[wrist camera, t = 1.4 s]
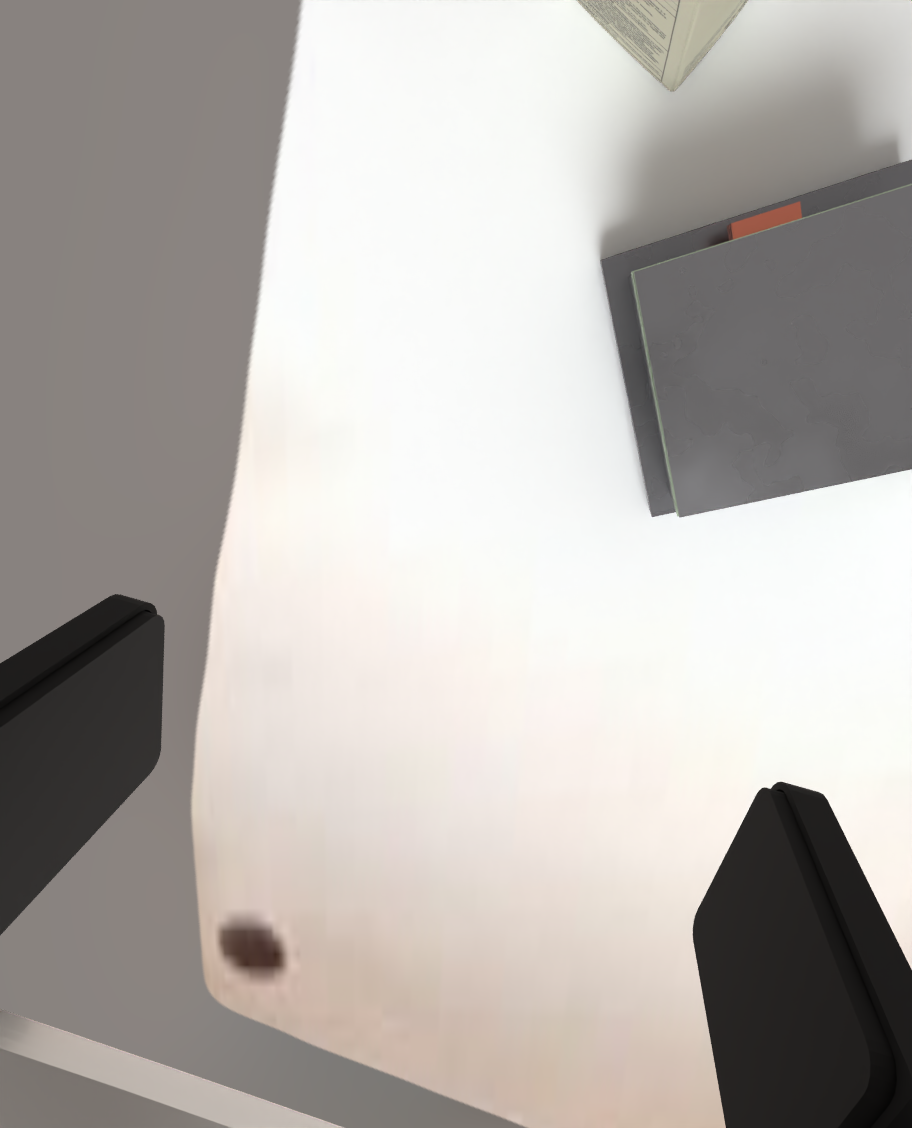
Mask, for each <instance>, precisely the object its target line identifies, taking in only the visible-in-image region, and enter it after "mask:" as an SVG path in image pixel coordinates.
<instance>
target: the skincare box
mask: <svg viewBox="0 0 912 1128" xmlns="http://www.w3.org/2000/svg"><path fill="white" fill-rule="evenodd" d="M577 1H578V2H579V3H580V5H581V6H582V7H583V8H584V9H585V10H586V11H587V12H588V13H589V14H590V15H591V16H592V17H593V18H594V19H595V20H596V21H597V22H598V23H599V24H600V25H601V26H602V27H603V28H604V29H605V30H606V31H607V32H608V33H609V34H610V35H611V36H612V37H613V38H614V39H615V40H616V41H617V42H618V43H619V44H620V45H621V46H622V47H623V48H624V49H625V50H626V51H627V52H628V53H629V54H630V55H631V56H632V57H633V58H634V59H635V60H636V61H637V62H639V63H640V64H641V65H642V66H643V67H644V68H645V69H646V70H647V71H648V72H649V73H650V74H651V75H653V76H654V77H655V78H656V79H657V80H658V81H659V82H660V83H662V84H663V85H664V86H665V87H666V88H667V89H668V90H669V91H671V92H674V91H675V90H676V89H677V88H678V87H679V86H680V85H681V83H682V82H683V81H684V80H685V79H686V77H687V76H688V75H689V74H690V73H691V72H692V70H693V69H694V68H695V67H696V66H697V64H698V63H699V62H700V61H701V60H702V58H703V57H704V56H705V55H706V54H707V52H708V51H709V50H710V49H711V48H712V46H713V45H714V44H715V43H716V41H717V40H718V39H719V38H720V37H721V35H722V34H723V33H724V31H725V30H726V29H727V28H728V26H729V25H730V24H731V22H732V21H733V20H734V19H735V17H736V16H737V15H738V13H739V12H740V11H741V9H742V8H743V7H744V5H745V4H746V3H747V1H748V0H577Z"/></svg>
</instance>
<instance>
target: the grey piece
mask: <svg viewBox="0 0 912 1128" xmlns="http://www.w3.org/2000/svg"><path fill="white" fill-rule="evenodd" d="M600 262H601V267H602V272H603V277H604V282H605V287H606V292H607V297H608V302H609V307H610V312H611V317H612V322H613V327H614V333H615V338H616V343H617V348H618V353H619V358H620V363H621V368H622V373H623V378H624V383H625V388H626V393H627V398H628V403H629V408H630V413H631V418H632V423H633V428H634V433H635V438H636V443H637V448H638V453H639V458H640V463H641V468H642V473H643V478H644V483H645V488H646V493H647V498H648V503H649V508H650V512H651V516H652V517H655V516H659V515H664V514H669V513H674V512H676V514H677V516H679V517H684V516H689V515H694V514H699V513H704V512H708V511H713V510H718V509H723V508H728V507H732V506H737V505H742V504H747V503H752V502H756V501H761V500H766V499H771V498H776V497H780V496H785V495H790V494H795V493H800V492H804V491H809V490H814V489H819V488H824V487H828V486H833V485H838V484H843V483H848V482H852V481H857V480H862V479H867V478H872V477H876V476H881V475H886V474H891V473H896V472H900V471H905V470H910V469H912V160H909V161H906V162H903V163H900V164H897V165H894V166H891V167H887V168H884V169H881V170H878V171H875V172H872V173H869V174H866V175H863V176H860V177H856V178H853V179H850V180H847V181H844V182H841V183H838V184H835V185H832V186H829V187H826V188H822V189H819V190H816V191H813V192H810V193H807V194H804V195H801V196H798V197H795V198H791V199H788V200H785V201H782V202H779V203H776V204H773V205H770V206H767V207H764V208H760V209H757V210H754V211H751V212H748V213H745V214H742V215H739V216H736V217H733V218H729V219H726V220H723V221H720V222H717V223H714V224H711V225H708V226H705V227H702V228H699V229H695V230H692V231H689V232H686V233H683V234H680V235H677V236H674V237H671V238H668V239H664V240H661V241H658V242H655V243H652V244H649V245H646V246H643V247H640V248H637V249H633V250H630V251H627V252H624V253H621V254H618V255H615V256H612V257H609V258H606V259H603V260H601V261H600Z"/></svg>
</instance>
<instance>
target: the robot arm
mask: <svg viewBox="0 0 912 1128" xmlns="http://www.w3.org/2000/svg"><path fill="white" fill-rule="evenodd" d="M163 657H164V620H163V618H162V617H161V616H160V615H157V611H156V608H155V606H154V605H152V604H151V603H148V602H144V601H140V600H137V599H134V598H130V597H126V596H123V595H118V594H115V595H112V596H110V597H108V598H106V599H105V600H103V601H101V602H100V603H98V604H97V605H95V606H93V607H92V608H90V609H88V610H87V611H85V612H84V613H82V614H80V615H79V616H77V617H75V618H74V619H72V620H71V621H69V622H67V623H66V624H64V625H62V626H61V627H59V628H58V629H56V630H54V631H53V632H51V633H49V634H48V635H46V636H45V637H43V638H41V639H39V640H38V641H36V642H35V643H33V644H31V645H30V646H28V647H26V648H25V649H23V650H22V651H20V652H18V653H17V654H15V655H13V656H12V657H10V658H9V659H7V660H5V661H4V662H2V663H0V935H1V934H2V933H3V932H4V931H5V930H6V929H7V927H8V926H9V925H10V924H11V923H12V922H13V921H14V920H15V919H16V918H17V917H18V915H20V913H21V912H22V911H23V910H24V909H25V908H26V907H27V906H28V905H29V904H30V903H31V902H32V900H33V899H34V898H35V897H36V896H37V895H38V894H39V893H40V892H41V891H42V890H43V889H44V887H45V886H46V885H47V884H48V883H49V882H50V881H51V880H52V879H53V878H54V877H55V876H56V874H57V873H58V872H59V871H60V870H61V869H62V868H63V867H64V866H65V865H66V864H67V863H68V862H69V860H70V859H71V858H72V857H73V856H74V855H75V854H76V853H77V852H78V851H79V850H80V849H81V847H82V846H83V845H84V844H85V843H86V842H87V841H88V840H89V839H90V838H91V837H92V835H94V834H95V832H96V831H97V830H98V829H99V828H100V827H101V826H102V825H103V824H104V823H105V822H106V821H107V819H108V818H109V817H110V816H111V815H112V814H113V813H114V812H115V811H116V810H117V809H118V808H119V806H120V805H121V804H122V803H123V802H124V801H125V800H126V799H127V798H128V797H129V796H130V795H131V793H133V791H134V790H135V789H136V788H137V787H138V786H139V785H140V784H141V783H142V782H143V781H144V780H145V778H146V777H147V776H148V775H149V774H150V773H151V772H152V770H153V769H154V767H155V765H156V763H157V761H158V759H159V756H160V751H161V728H162V727H161V726H162V693H163V660H164V659H163ZM693 942H694V947H695V953H696V959H697V964H698V970H699V976H700V982H701V987H702V993H703V999H704V1004H705V1010H706V1016H707V1022H708V1027H709V1033H710V1039H711V1044H712V1050H713V1056H714V1062H715V1067H716V1073H717V1079H718V1084H719V1090H720V1096H721V1102H722V1107H723V1113H724V1119H725V1125H726V1128H912V970H911V968H910V966H909V964H908V962H907V960H906V958H905V956H904V954H903V952H902V950H901V948H900V946H899V944H898V942H897V940H896V937H895V935H894V933H893V931H892V929H891V927H890V925H889V923H888V921H887V919H886V917H885V915H884V913H883V911H882V909H881V907H880V905H879V903H878V901H877V899H876V897H875V895H874V893H873V891H872V889H871V887H870V885H869V883H868V881H867V879H866V877H865V875H864V873H863V871H862V869H861V867H860V865H859V863H858V861H857V859H856V857H855V855H854V853H853V851H852V849H851V847H850V845H849V843H848V841H847V839H846V837H845V835H844V833H843V831H842V829H841V827H840V825H839V823H838V821H837V819H836V817H835V815H834V813H833V811H832V809H831V807H830V804H829V802H828V800H827V799H826V798H825V796H824V795H823V794H821V793H819V792H816V791H813V790H809V789H806V788H802V787H798V786H795V785H791V784H788V783H784V782H777V783H776V784H775V785H773V787H772V788H771V789H768V788H762V789H761V790H759V792H758V793H757V795H756V797H755V799H754V800H753V802H752V804H751V806H750V808H749V810H748V812H747V814H746V816H745V818H744V820H743V822H742V824H741V826H740V828H739V830H738V832H737V834H736V836H735V838H734V840H733V842H732V844H731V846H730V848H729V850H728V851H727V853H726V855H725V857H724V859H723V861H722V863H721V865H720V867H719V869H718V871H717V873H716V875H715V877H714V879H713V881H712V883H711V885H710V887H709V889H708V891H707V893H706V895H705V897H704V899H703V901H702V902H701V904H700V906H699V908H698V910H697V913H696V915H695V919H694V924H693ZM0 1128H343V1127H341V1126H338V1125H335V1124H332V1123H329V1122H326V1121H324V1120H321V1119H318V1118H315V1117H312V1116H309V1115H306V1114H304V1113H301V1112H298V1111H295V1110H292V1109H289V1108H286V1107H283V1106H281V1105H278V1104H274V1103H272V1102H269V1101H266V1100H263V1099H260V1098H258V1097H255V1096H252V1095H249V1094H246V1093H243V1092H240V1091H237V1090H235V1089H232V1088H229V1087H226V1086H223V1085H220V1084H217V1083H214V1082H212V1081H209V1080H206V1079H203V1078H200V1077H197V1076H194V1075H191V1074H188V1073H186V1072H183V1071H180V1070H177V1069H174V1068H171V1067H169V1066H166V1065H163V1064H160V1063H157V1062H154V1061H151V1060H148V1059H145V1058H142V1057H139V1056H136V1055H133V1054H130V1053H127V1052H125V1051H122V1050H119V1049H116V1048H113V1047H110V1046H107V1045H104V1044H101V1043H98V1042H95V1041H93V1040H90V1039H87V1038H84V1037H81V1036H78V1035H75V1034H72V1033H69V1032H66V1031H63V1030H60V1029H57V1028H55V1027H52V1026H48V1025H46V1024H43V1023H40V1022H37V1021H34V1020H31V1019H28V1018H25V1017H22V1016H19V1015H16V1014H13V1013H11V1012H8V1011H5V1010H2V1009H0Z"/></svg>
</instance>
